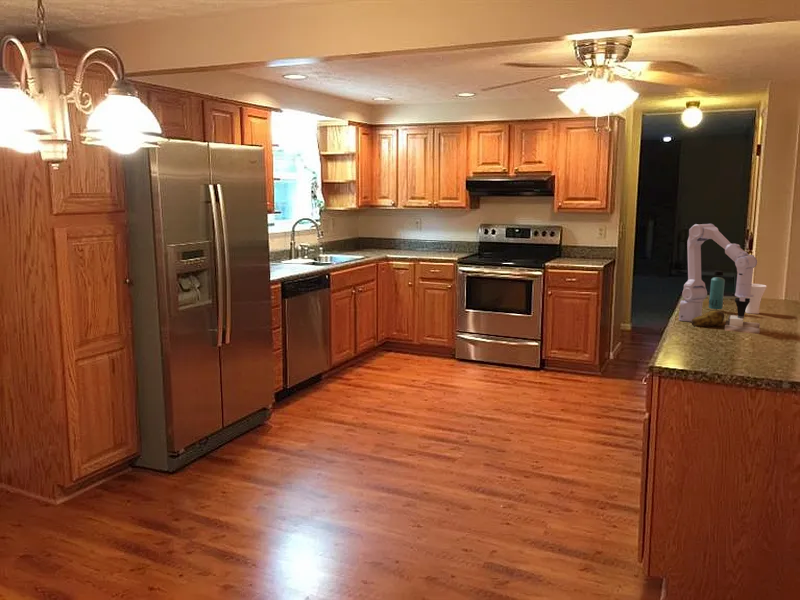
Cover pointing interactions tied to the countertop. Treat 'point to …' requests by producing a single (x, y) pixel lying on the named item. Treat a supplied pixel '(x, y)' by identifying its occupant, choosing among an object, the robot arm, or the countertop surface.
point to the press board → (744, 327)
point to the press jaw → (735, 320)
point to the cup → (755, 298)
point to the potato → (709, 319)
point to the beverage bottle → (716, 291)
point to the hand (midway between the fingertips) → (740, 315)
